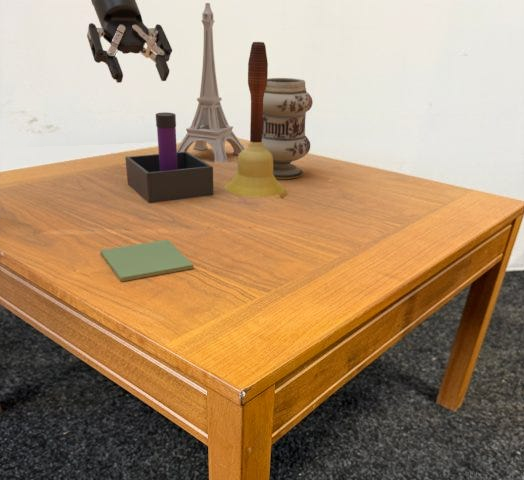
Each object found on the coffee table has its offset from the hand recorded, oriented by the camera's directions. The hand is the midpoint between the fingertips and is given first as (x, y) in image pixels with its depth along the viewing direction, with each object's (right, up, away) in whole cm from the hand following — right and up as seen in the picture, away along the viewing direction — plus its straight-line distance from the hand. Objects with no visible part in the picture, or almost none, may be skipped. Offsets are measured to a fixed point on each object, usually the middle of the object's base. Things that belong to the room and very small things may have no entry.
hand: (143, 78), depth 98 cm
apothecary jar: (+25, -11, +18) cm, 33 cm away
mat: (+5, -36, -22) cm, 43 cm away
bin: (+4, -20, +4) cm, 20 cm away
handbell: (+20, -19, +7) cm, 28 cm away
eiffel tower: (+9, -4, +29) cm, 31 cm away
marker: (+4, -19, +3) cm, 20 cm away
